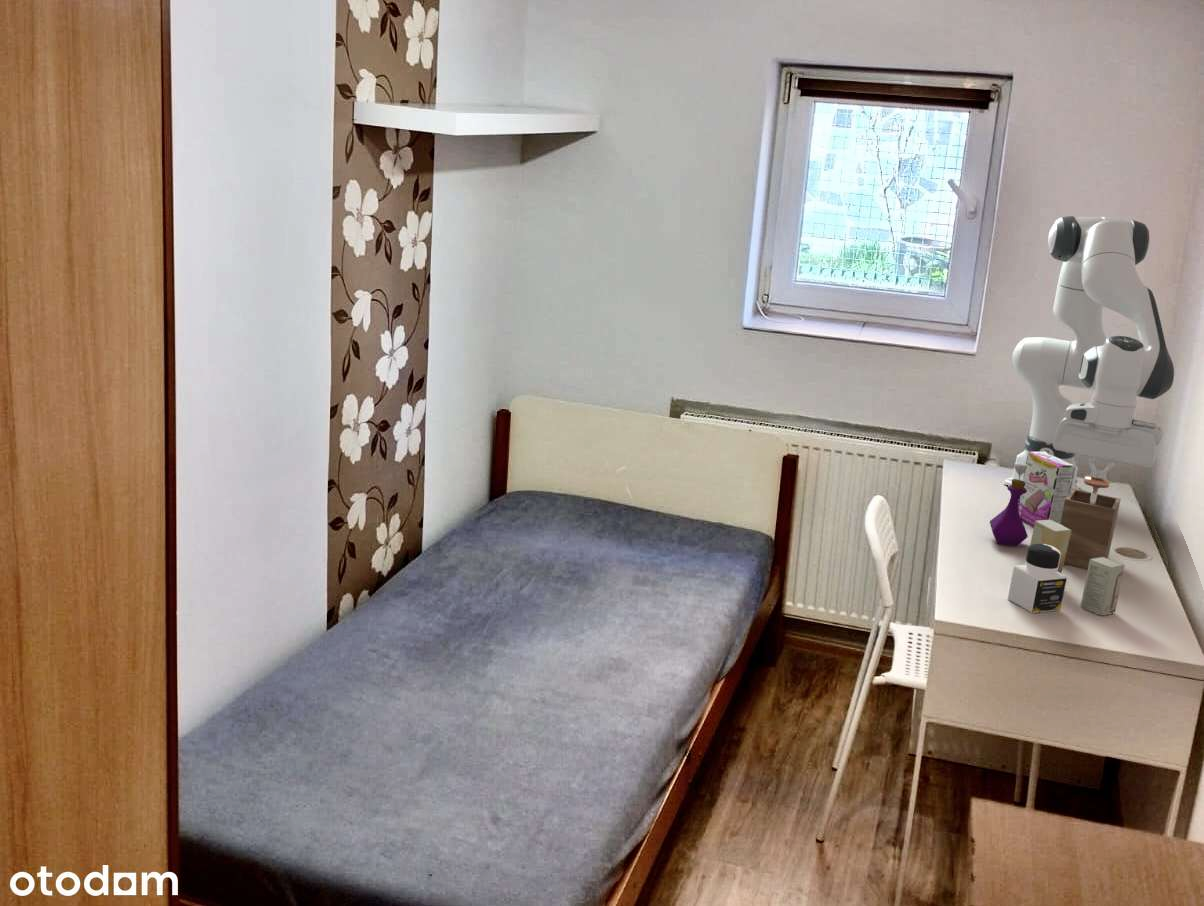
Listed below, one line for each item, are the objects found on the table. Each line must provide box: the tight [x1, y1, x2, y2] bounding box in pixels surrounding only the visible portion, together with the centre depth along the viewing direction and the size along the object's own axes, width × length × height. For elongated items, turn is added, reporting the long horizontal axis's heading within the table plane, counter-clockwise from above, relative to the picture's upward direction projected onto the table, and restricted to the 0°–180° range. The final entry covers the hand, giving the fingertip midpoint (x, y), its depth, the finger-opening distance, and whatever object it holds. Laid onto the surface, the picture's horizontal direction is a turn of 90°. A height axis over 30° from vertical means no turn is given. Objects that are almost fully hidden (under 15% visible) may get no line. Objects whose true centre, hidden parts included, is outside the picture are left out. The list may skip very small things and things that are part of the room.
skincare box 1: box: [1029, 520, 1071, 574], centre depth 254 cm, size 6×4×12 cm
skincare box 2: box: [1080, 557, 1126, 616], centre depth 242 cm, size 5×4×10 cm
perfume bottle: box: [989, 463, 1029, 548], centre depth 275 cm, size 8×8×18 cm
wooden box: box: [1060, 489, 1122, 571], centre depth 268 cm, size 10×10×14 cm
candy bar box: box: [1018, 451, 1075, 528], centre depth 289 cm, size 11×5×16 cm, turn 20°
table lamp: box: [1083, 474, 1111, 505], centre depth 267 cm, size 8×8×13 cm
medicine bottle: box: [1007, 544, 1068, 614], centre depth 241 cm, size 7×7×12 cm
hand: (1097, 478), depth 265 cm, fingers closed, pressing on table lamp
